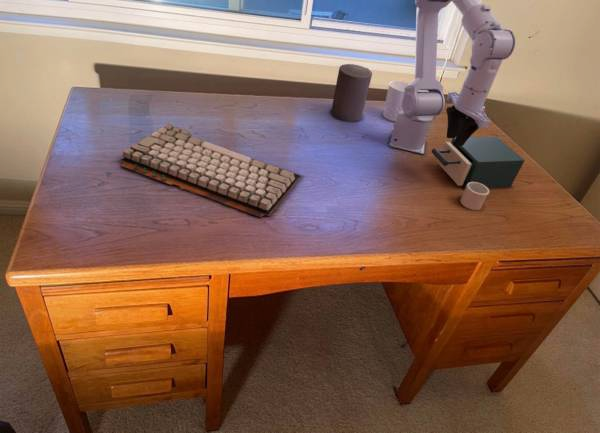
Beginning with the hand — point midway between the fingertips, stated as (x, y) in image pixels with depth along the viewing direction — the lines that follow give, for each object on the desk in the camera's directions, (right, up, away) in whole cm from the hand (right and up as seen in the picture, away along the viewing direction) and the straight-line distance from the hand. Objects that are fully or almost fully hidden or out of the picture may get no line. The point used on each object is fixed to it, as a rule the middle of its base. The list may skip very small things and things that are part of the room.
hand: (454, 141), depth 104 cm
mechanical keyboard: (-58, -8, -5) cm, 58 cm away
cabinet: (+9, -7, +10) cm, 15 cm away
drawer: (+4, -7, +8) cm, 11 cm away
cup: (+4, -15, -1) cm, 15 cm away
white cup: (-8, +13, +31) cm, 35 cm away
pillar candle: (-23, +13, +28) cm, 38 cm away
